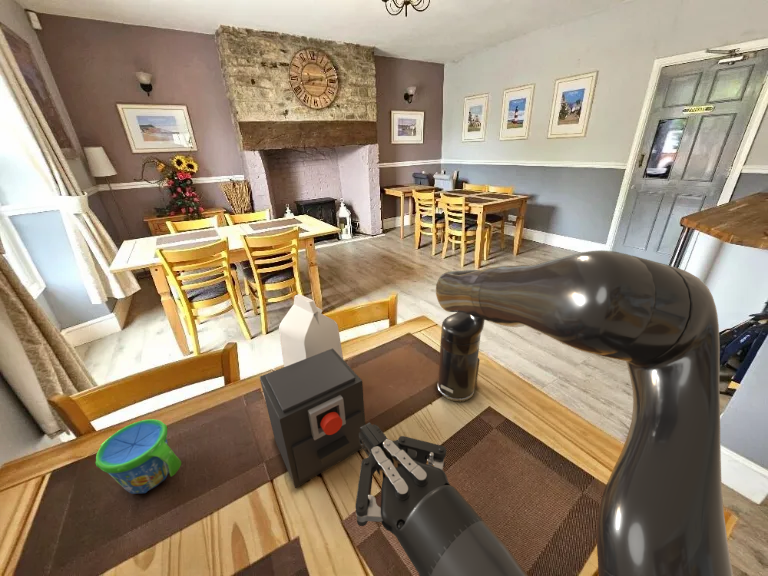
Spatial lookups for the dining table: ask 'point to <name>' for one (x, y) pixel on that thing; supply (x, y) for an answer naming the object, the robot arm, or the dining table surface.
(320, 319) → the milk
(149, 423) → the snack cup
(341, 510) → the dining table surface
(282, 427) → the dark grey button box
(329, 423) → the power button
